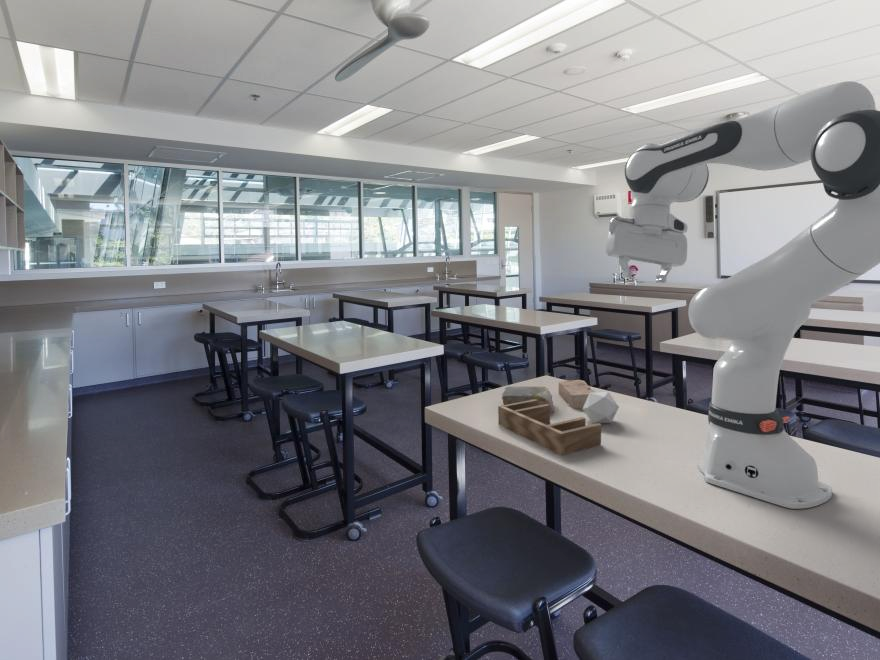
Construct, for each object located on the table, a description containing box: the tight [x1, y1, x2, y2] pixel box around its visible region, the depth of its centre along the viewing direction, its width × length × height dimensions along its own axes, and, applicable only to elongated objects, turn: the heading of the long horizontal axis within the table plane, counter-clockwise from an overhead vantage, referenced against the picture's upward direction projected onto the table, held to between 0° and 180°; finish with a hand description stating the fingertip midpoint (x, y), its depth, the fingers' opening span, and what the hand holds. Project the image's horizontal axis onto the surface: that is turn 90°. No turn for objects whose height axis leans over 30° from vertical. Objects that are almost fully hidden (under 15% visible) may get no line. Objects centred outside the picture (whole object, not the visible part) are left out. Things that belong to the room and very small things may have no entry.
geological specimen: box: [501, 386, 555, 414], centre depth 153 cm, size 11×6×15 cm
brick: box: [557, 379, 596, 409], centre depth 158 cm, size 17×8×5 cm, turn 2°
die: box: [582, 391, 620, 425], centre depth 138 cm, size 8×9×10 cm
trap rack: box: [497, 399, 602, 456], centre depth 130 cm, size 25×12×5 cm, turn 28°
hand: (644, 280), depth 121 cm, fingers open, 8 cm apart
